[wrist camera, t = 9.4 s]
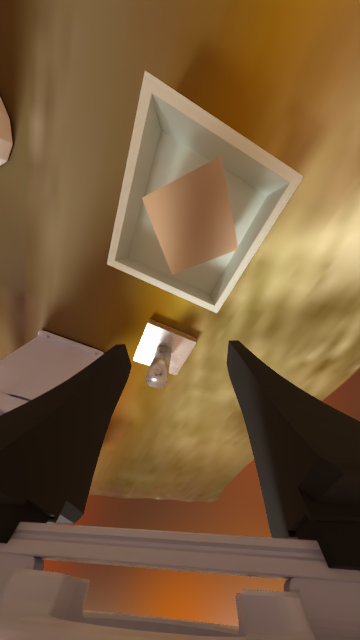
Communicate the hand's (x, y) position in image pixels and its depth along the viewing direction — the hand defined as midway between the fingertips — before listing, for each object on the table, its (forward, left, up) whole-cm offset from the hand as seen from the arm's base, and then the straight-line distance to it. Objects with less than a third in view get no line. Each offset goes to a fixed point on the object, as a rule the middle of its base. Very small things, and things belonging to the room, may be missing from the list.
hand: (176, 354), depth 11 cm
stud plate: (+1, -7, -10) cm, 12 cm away
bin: (-2, +8, -10) cm, 12 cm away
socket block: (-2, +8, -9) cm, 12 cm away
